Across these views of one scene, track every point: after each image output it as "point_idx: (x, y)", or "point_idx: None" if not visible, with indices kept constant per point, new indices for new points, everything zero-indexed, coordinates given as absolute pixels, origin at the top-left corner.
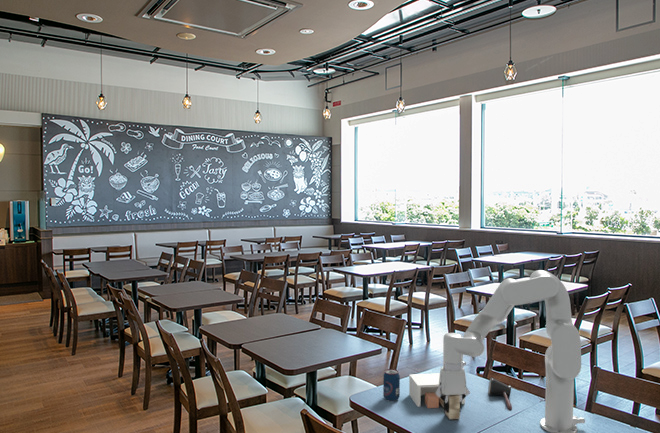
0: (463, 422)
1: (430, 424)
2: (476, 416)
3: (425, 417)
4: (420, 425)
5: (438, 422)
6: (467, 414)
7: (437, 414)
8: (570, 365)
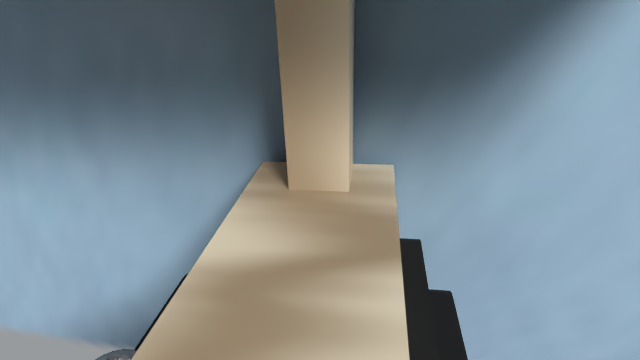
0: None
1: (91, 307)
2: (636, 254)
3: (42, 189)
4: (12, 306)
5: (162, 292)
6: (555, 194)
7: (174, 143)
8: None
